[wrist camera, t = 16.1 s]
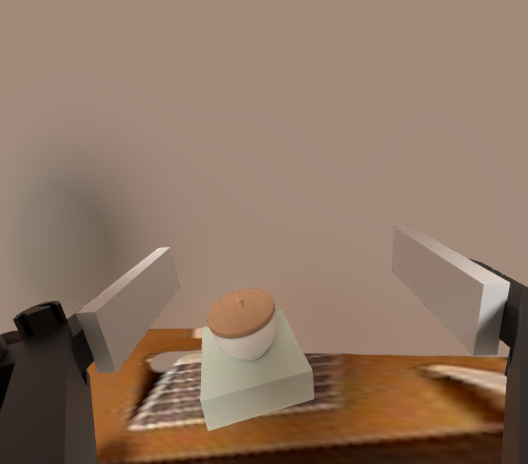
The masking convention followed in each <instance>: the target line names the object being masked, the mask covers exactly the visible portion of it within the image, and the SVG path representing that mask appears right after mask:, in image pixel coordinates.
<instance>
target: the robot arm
mask: <svg viewBox="0 0 528 464" xmlns="http://www.w3.org/2000/svg"><path fill="white" fill-rule="evenodd" d="M392 271H393V272H394V273H395V274H396V275H397V276H398V277H399V278H400V280H402V281H403V283H404V284H405V285H406V286H407V287H408V288H409V289H410V290H411V291H412V292H413V293H414V294H415V295H416V296H417V297H418V298H419V299H420V300H421V301H422V303H424V305H425V306H426V307H427V308H428V309H429V310H430V311H431V312H432V313H433V314H434V315H435V316H436V317H437V318H438V319H439V320H440V321H441V322H442V323H443V324H444V325H445V327H446V328H447V329H448V330H449V331H450V332H451V333H452V334H453V335H454V336H455V337H456V338H457V339H458V340H459V341H460V342H461V343H462V344H463V345H464V346H465V347H466V348H467V349H468V351H469V352H470V353H471V354H472V355H473V356H475V355H495V354H497V351H498V346H499V340H502V341H503V342H504V343H505V344H506V345H508V346H509V347H510V351H509V356H508V361H507V366H506V371H505V376H507V384H506V399H505V414H504V429H503V444H502V459H501V464H528V287H526V286H524V285H522V284H520V283H518V282H517V281H515V280H513V279H511V278H509V277H507V276H506V275H502V274H501V273H500V272H498V271H496V270H493V269H492V268H491V267H489V266H487V265H485V264H483V263H481V262H478V261H475V260H472V259H469V258H468V259H467V258H465V257H464V256H462V255H460V254H458V253H456V252H455V251H453V250H451V249H449V248H447V247H446V246H444V245H442V244H440V243H439V242H437V241H435V240H433V239H432V238H430V237H428V236H426V235H424V234H423V233H421V232H419V231H417V230H416V229H414V228H412V227H410V226H408V225H403V226H394V228H393V258H392ZM179 288H180V285H179V281H178V277H177V272H176V269H175V264H174V260H173V256H172V252H171V248H170V247H165V248H158V249H157V250H155V251H154V252H153V253H152V254H150V255H149V256H148V257H147V258H145V259H144V260H143V261H141V262H140V263H139V264H138V265H136V266H135V267H134V268H132V269H131V270H130V271H129V272H127V273H126V274H125V275H124V276H122V277H121V278H120V279H118V280H117V281H116V282H115V283H113V284H112V285H111V286H110V287H108V288H107V289H106V290H104V291H103V292H102V293H101V294H99V295H98V296H96V297H95V298H94V299H93V300H92V301H90V302H89V303H87V304H86V305H85V306H84V307H82V308H81V309H80V310H79V311H77V312H76V313H75V314H73V315H72V316H71V317H70V318H68V319H66V316H65V314H64V311H63V309H62V306H61V304H60V302H59V301H50V302H45V303H42V304H38V305H36V306H33V307H31V308H29V309H27V310H25V311H23V312H21V313H20V314H18V315H17V316H16V317H15V318H14V319H13V320H14V323H15V325H16V327H17V329H18V331H19V333H20V335H21V337H22V342H19V343H15V344H11V345H6V343H5V341H4V339H3V337H2V336H1V335H0V464H98V462H97V451H96V440H95V430H94V419H93V408H92V397H91V386H90V376H89V374H88V371H87V368H88V367H89V366H90V364H91V363H92V362H93V361H94V363H95V365H96V368H97V371H98V373H113V372H117V371H118V370H119V369H120V367H121V366H122V365H123V363H124V362H125V360H126V359H127V358H128V356H129V355H130V354H131V352H132V351H133V350H134V348H135V347H136V346H137V344H138V343H139V342H140V340H141V339H142V338H143V336H144V335H145V334H146V332H147V331H148V330H149V328H150V327H151V325H152V324H153V323H154V321H155V320H156V319H157V317H158V316H159V315H160V313H161V312H162V311H163V309H164V308H165V307H166V305H167V304H168V303H169V301H170V300H171V299H172V297H173V296H174V294H175V293H176V292H177V290H178V289H179Z"/></svg>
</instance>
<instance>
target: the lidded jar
mask: <svg viewBox="0 0 528 464" xmlns="http://www.w3.org/2000/svg"><path fill="white" fill-rule="evenodd" d="M207 323H208V326H209V328H210V330H211V332H212V335H213V337H214V339H215V341H216V343H217V345H218V346H219V347H220V349H221V350H222V351H223V352H224V353H225V354H227V355H228V356H230V357H232V358H235V359H239V360H242V361H251V360H255V359H257V358H259V357H261V356H262V355H263V354H264V353H265V352H266V351H267V349H268V348H269V347H270V346H271V344H272V342H273V340H274V338H275V335H276V330H277V319H276V311H275V304H274V300H273V298H272V296H271V295H270V294H269V293H267V292H265V291H263V290H260V289H243V290H238V291H235V292H232V293H230V294H228V295H226V296H224V297H222V298H221V299H219V300H218V301H217V302H216V303H215V304H214V305H213V306H212V307H211V309H210V311H209V313H208V316H207Z"/></svg>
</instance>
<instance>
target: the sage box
mask: <svg viewBox="0 0 528 464" xmlns="http://www.w3.org/2000/svg"><path fill="white" fill-rule="evenodd" d="M276 319H277V330H276V335H275V338H274V340H273V342H272V344H271V346H270V347H269V348H268V349H267V351H266V352H265V353H264V354H263V355H262V356H261V357H259V358H257V359H255V360H251V361H242V360H239V359H235V358H232V357H230V356H228V355H227V354H225V353H224V352H223V351H222V350H221V349H220V347H219V346H218V345H217V343H216V341H215V339H214V337H213V335H212V332H211V330H210V328H209V326H208V327H204V328H203V331H202V367H201V405H202V409H203V413H204V417H205V421H206V425H207V429H208V431H210V430H213V429H217V428H220V427H223V426H227V425H230V424H233V423H237V422H240V421H243V420H246V419H250V418H253V417H256V416H260V415H263V414H266V413H270V412H273V411H276V410H280V409H283V408H286V407H290V406H293V405H296V404H300V403H303V402H306V401H310V400H313V399H315V398H314V385H313V372H312V368H311V366H310V364H309V362H308V360H307V358H306V356H305V354H304V353H303V351H302V349H301V347H300V345H299V343H298V341H297V339H296V337H295V335H294V333H293V331H292V329H291V327H290V325H289V323H288V321H287V319H286V317H285V315H284V313H283V311H282V310H277V311H276Z"/></svg>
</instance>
